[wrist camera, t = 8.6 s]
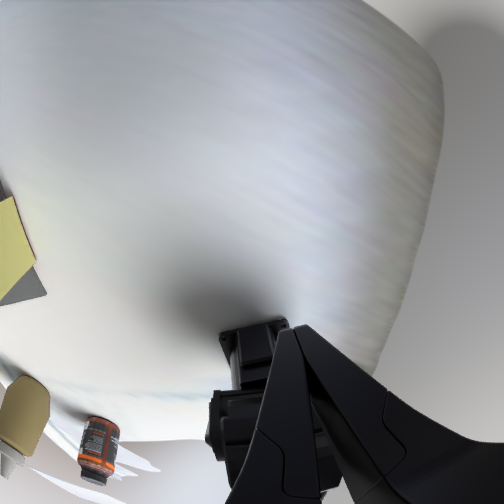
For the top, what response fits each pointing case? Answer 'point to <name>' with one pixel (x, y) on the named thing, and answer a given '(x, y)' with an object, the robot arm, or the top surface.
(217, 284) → the top surface
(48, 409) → the squeeze bottle
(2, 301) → the mat
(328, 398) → the robot arm
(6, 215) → the baking soda box
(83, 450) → the supplement bottle
